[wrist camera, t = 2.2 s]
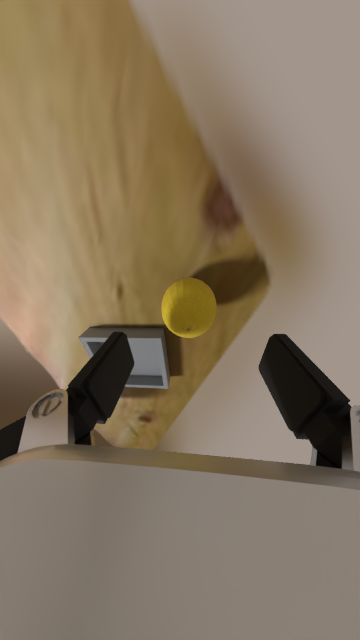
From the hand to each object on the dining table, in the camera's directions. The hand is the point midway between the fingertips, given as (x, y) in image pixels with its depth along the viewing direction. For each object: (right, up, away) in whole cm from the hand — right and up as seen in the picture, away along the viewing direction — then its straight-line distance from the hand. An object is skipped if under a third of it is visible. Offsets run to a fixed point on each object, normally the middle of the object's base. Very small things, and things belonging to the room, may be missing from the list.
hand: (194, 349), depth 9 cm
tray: (-9, -4, +15) cm, 18 cm away
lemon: (0, +6, +8) cm, 10 cm away
